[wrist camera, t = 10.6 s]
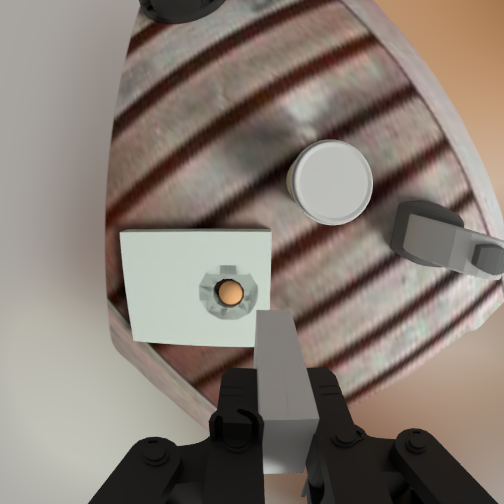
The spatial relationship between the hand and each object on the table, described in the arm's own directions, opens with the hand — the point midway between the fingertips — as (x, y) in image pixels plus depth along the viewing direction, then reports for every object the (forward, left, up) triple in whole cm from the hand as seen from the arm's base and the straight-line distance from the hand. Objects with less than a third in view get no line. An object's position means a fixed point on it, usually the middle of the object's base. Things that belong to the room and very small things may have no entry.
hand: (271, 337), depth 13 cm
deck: (+9, -9, -31) cm, 33 cm away
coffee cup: (-7, +8, -31) cm, 33 cm away
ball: (+9, -4, -29) cm, 31 cm away
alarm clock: (0, +28, -31) cm, 42 cm away
